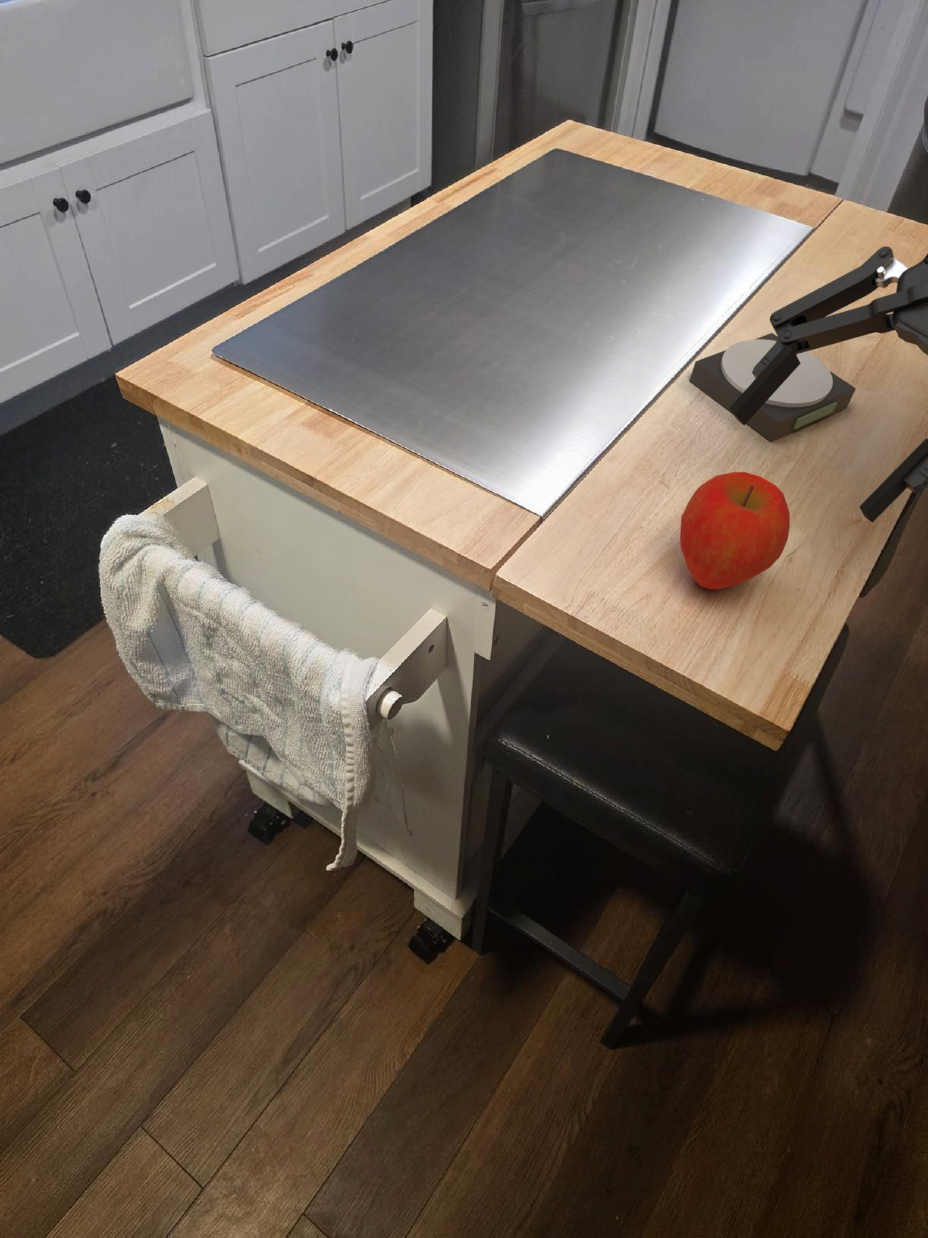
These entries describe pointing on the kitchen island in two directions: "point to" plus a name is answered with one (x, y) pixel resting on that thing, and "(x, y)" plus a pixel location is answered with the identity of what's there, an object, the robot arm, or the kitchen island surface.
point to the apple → (733, 529)
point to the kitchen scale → (791, 404)
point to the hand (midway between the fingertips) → (797, 464)
